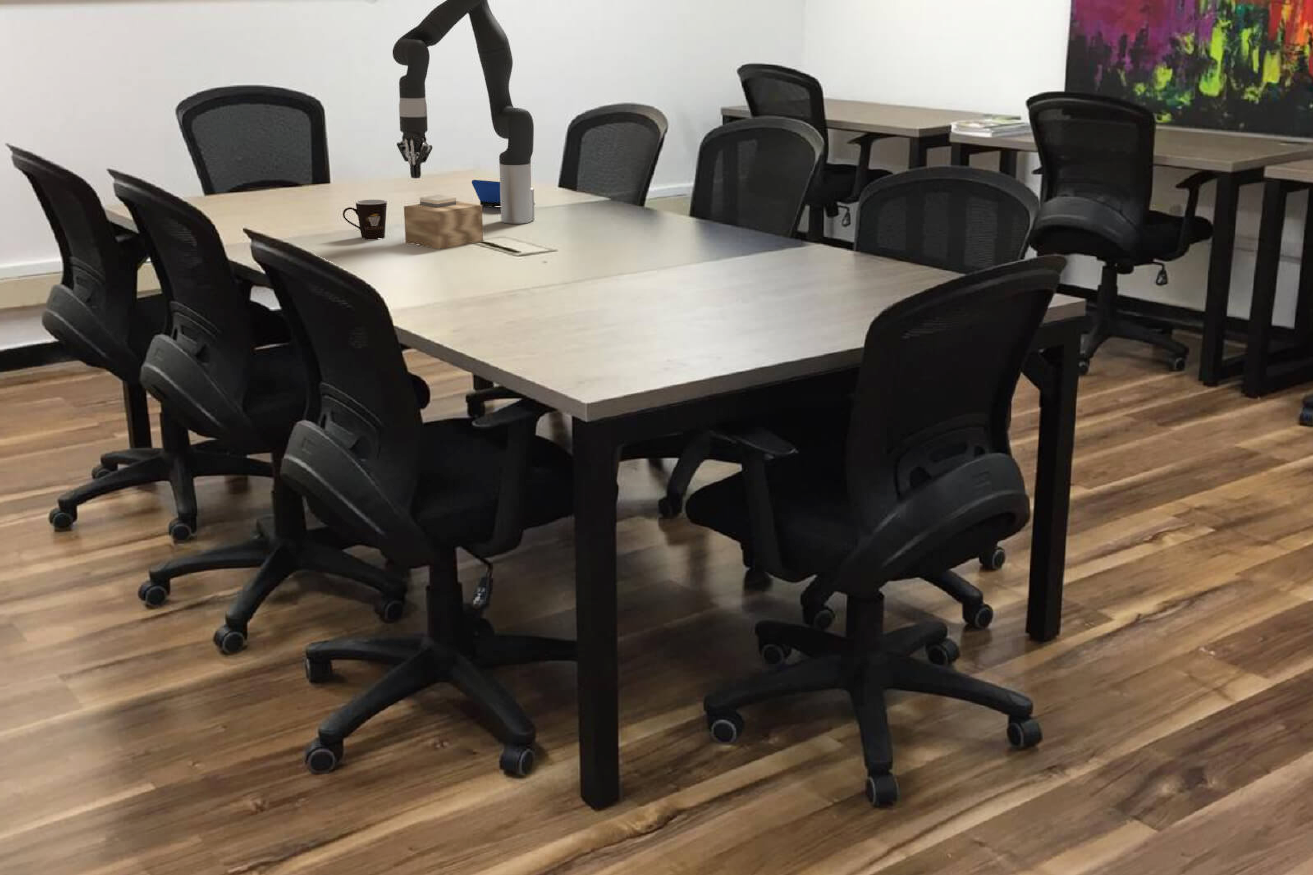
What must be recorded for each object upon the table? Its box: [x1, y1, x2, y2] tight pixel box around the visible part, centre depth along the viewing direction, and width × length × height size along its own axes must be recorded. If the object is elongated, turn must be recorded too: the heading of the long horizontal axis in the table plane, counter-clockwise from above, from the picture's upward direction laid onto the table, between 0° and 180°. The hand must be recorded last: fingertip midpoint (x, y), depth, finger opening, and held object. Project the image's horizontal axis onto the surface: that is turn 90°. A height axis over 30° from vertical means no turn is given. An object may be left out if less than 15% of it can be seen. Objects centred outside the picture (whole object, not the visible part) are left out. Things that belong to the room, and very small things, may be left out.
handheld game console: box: [471, 179, 536, 207], centre depth 467 cm, size 16×13×9 cm
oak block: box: [403, 200, 484, 250], centre depth 410 cm, size 16×14×10 cm
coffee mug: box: [342, 199, 388, 240], centre depth 416 cm, size 12×9×10 cm
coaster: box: [419, 194, 457, 208], centre depth 409 cm, size 7×7×2 cm
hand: (415, 177), depth 413 cm, fingers closed
